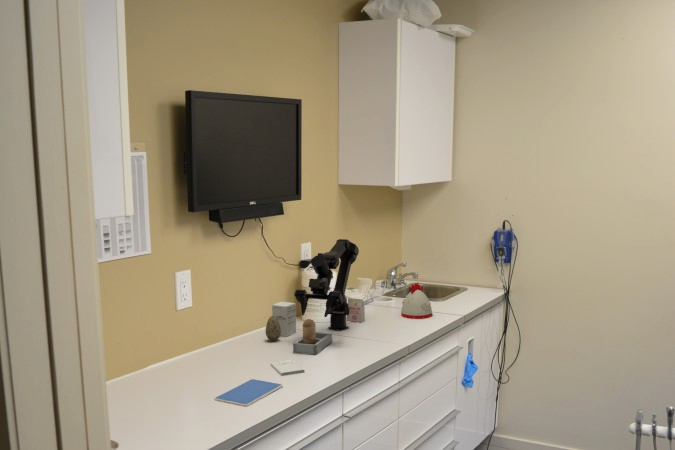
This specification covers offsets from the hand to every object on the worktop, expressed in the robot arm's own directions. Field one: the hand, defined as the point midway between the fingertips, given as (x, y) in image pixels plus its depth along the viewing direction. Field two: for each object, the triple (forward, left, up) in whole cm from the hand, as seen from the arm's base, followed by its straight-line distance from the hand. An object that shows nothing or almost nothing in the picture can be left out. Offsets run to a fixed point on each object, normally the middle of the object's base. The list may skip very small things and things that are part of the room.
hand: (313, 315), depth 249 cm
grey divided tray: (+1, +1, -12) cm, 12 cm away
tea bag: (-40, -12, -12) cm, 44 cm away
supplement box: (-6, -22, -12) cm, 26 cm away
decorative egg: (+4, -18, -12) cm, 22 cm away
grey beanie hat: (-65, +3, -12) cm, 66 cm away
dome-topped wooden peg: (+5, +2, -11) cm, 13 cm away
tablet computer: (+49, +19, -13) cm, 54 cm away
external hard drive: (+25, +11, -13) cm, 30 cm away
